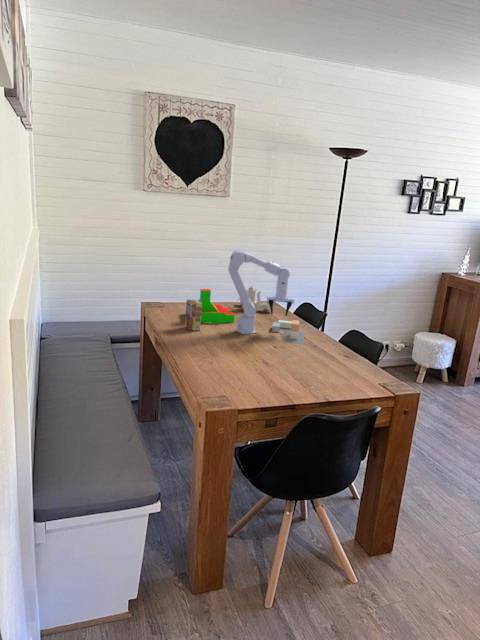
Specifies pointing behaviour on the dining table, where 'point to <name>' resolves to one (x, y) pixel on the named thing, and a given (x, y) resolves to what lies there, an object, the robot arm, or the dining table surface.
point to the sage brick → (285, 324)
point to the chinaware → (251, 294)
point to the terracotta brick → (295, 326)
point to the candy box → (193, 314)
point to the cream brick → (294, 335)
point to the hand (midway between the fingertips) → (278, 314)
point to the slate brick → (275, 327)
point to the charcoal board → (287, 339)
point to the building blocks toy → (213, 310)
